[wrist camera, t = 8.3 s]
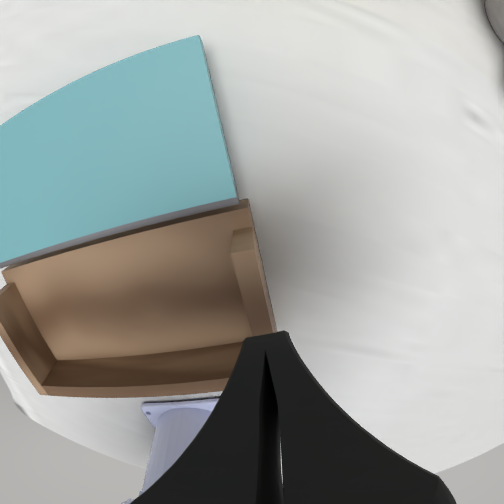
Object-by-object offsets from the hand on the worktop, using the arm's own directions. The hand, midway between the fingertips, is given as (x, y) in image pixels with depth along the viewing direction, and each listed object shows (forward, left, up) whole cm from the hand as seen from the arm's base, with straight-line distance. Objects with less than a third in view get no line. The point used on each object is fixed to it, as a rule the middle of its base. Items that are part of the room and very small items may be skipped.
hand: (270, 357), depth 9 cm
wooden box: (-1, +9, -9) cm, 13 cm away
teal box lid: (+4, +9, -7) cm, 12 cm away
